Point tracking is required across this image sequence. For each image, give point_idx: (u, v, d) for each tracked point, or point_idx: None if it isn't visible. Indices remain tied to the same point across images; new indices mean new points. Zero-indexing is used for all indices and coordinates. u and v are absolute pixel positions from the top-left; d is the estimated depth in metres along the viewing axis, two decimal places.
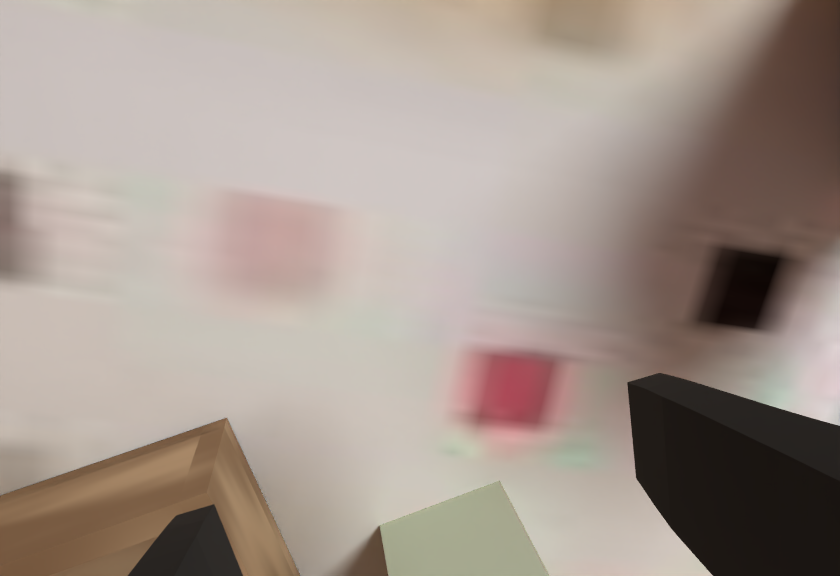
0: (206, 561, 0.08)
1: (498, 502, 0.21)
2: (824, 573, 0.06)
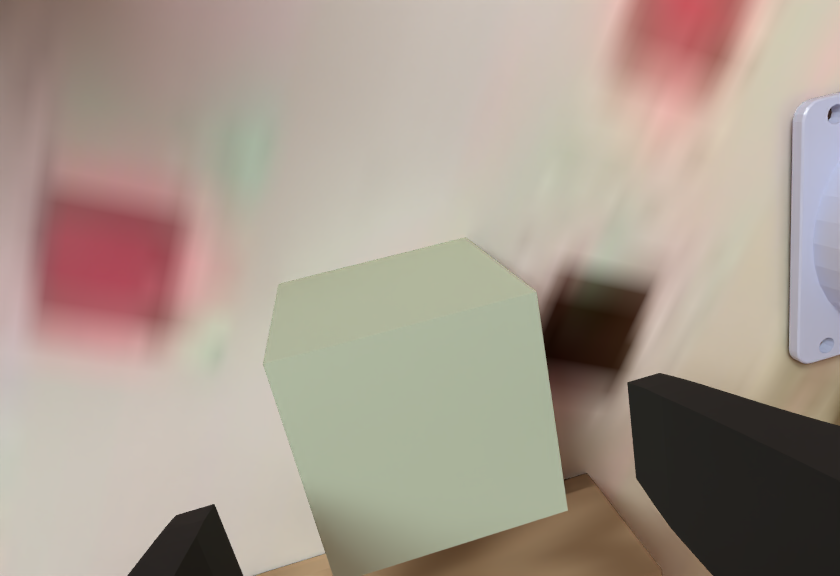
0: (206, 561, 0.08)
1: None
2: (824, 573, 0.06)
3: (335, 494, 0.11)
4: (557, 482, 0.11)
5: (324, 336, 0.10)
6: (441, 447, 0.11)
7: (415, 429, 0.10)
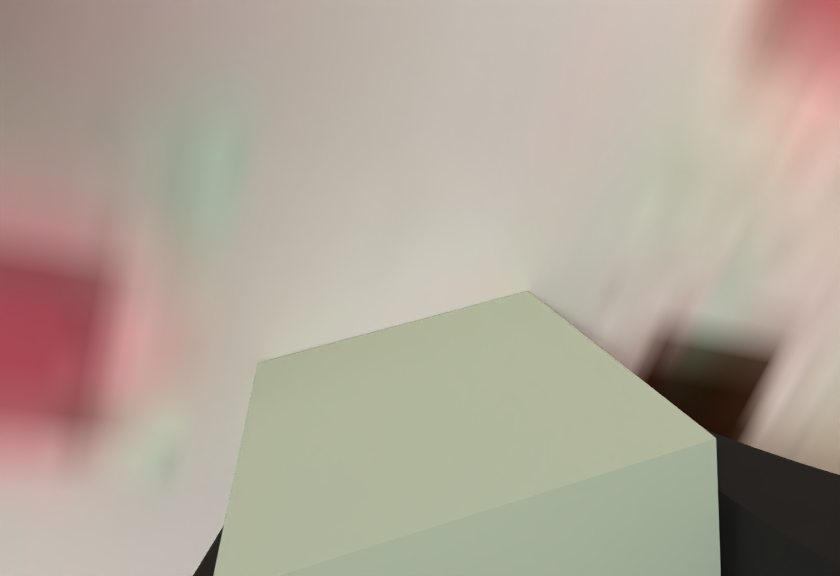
0: None
1: None
2: None
3: None
4: None
5: (327, 518, 0.06)
6: None
7: None
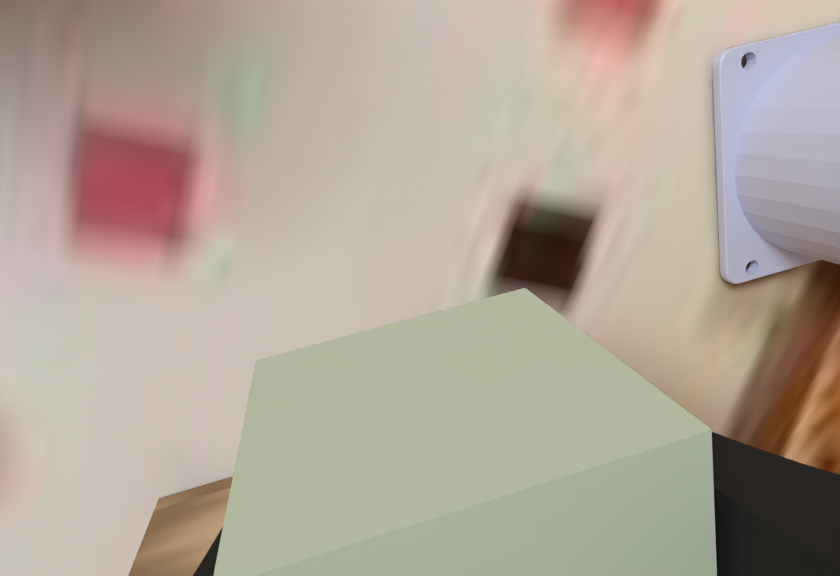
0: None
1: None
2: None
3: None
4: None
5: (329, 510, 0.06)
6: None
7: None
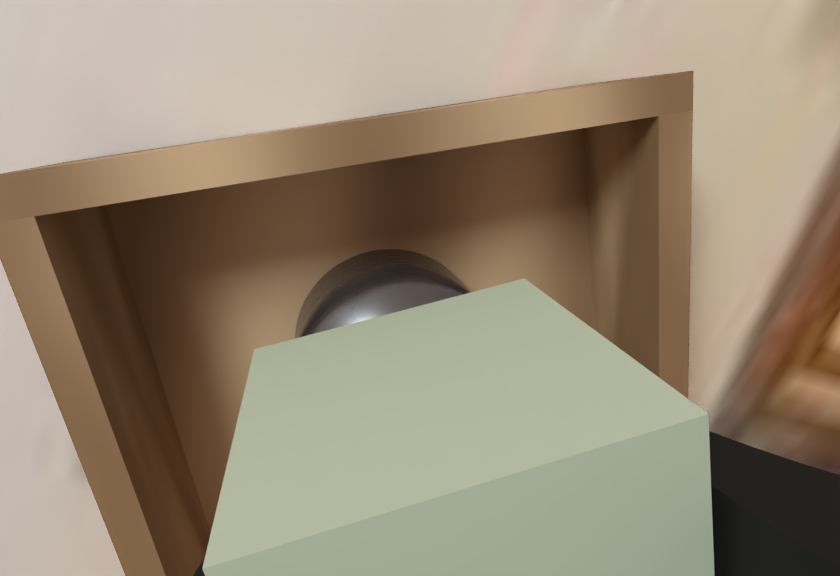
0: None
1: None
2: None
3: None
4: None
5: (321, 493, 0.06)
6: None
7: None
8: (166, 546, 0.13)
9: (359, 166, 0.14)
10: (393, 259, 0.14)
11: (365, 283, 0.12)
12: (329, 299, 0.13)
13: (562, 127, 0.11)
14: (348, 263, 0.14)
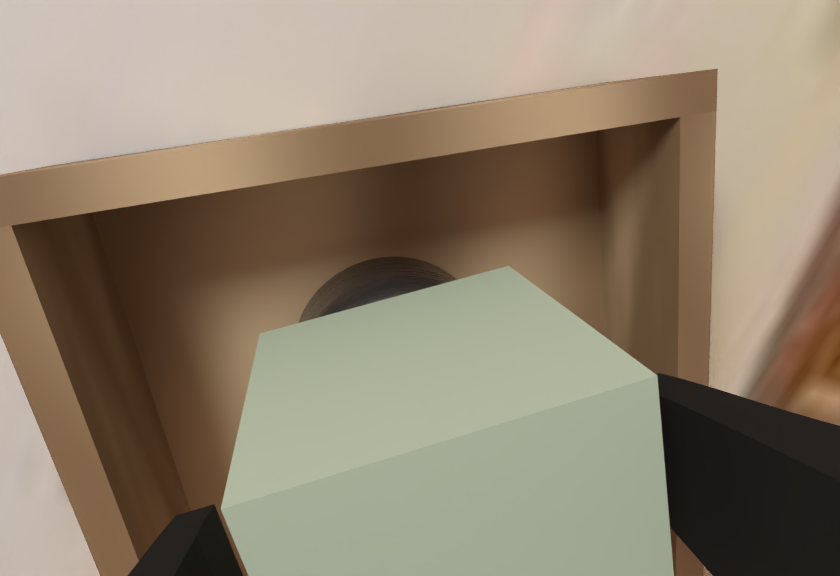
0: (206, 561, 0.08)
1: None
2: (824, 573, 0.06)
3: None
4: None
5: (322, 448, 0.06)
6: None
7: None
8: None
9: (361, 170, 0.13)
10: (397, 268, 0.13)
11: (367, 295, 0.12)
12: (329, 311, 0.12)
13: (578, 129, 0.11)
14: (349, 272, 0.14)
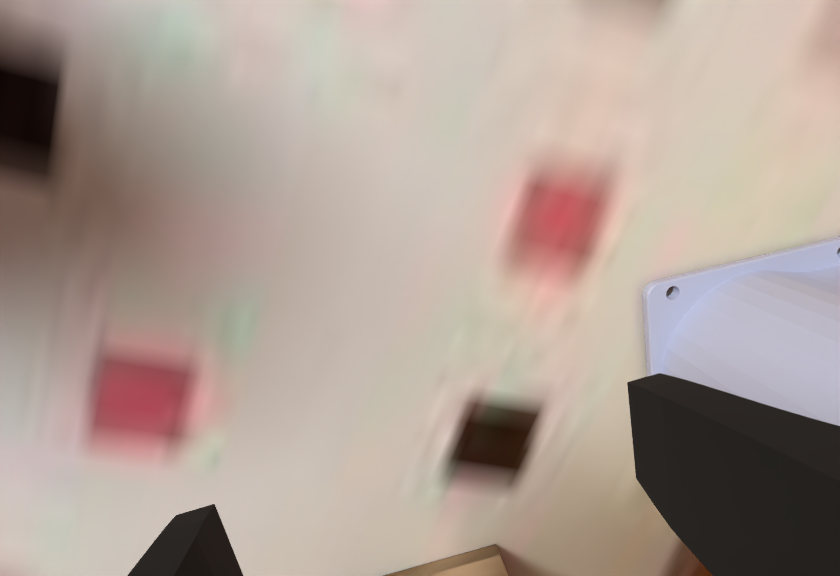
0: (206, 561, 0.08)
1: None
2: (824, 573, 0.06)
3: None
4: None
5: None
6: None
7: None
8: None
9: None
10: None
11: None
12: None
13: None
14: None
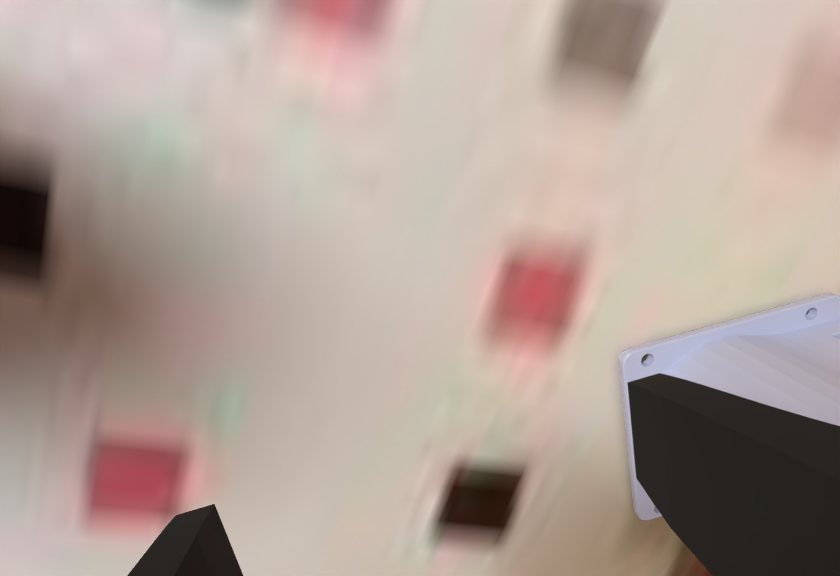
0: (206, 561, 0.08)
1: None
2: (824, 573, 0.06)
3: None
4: None
5: None
6: None
7: None
8: None
9: None
10: None
11: None
12: None
13: None
14: None
